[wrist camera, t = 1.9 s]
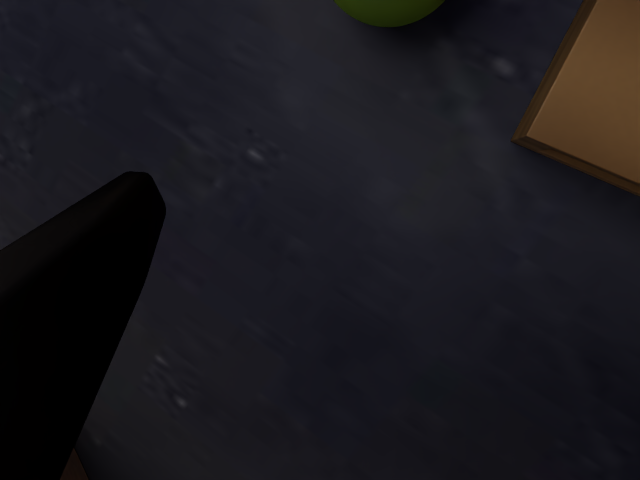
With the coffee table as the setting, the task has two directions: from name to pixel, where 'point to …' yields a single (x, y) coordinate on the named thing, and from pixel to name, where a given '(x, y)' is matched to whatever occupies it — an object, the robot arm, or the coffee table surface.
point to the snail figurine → (388, 11)
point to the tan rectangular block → (592, 97)
